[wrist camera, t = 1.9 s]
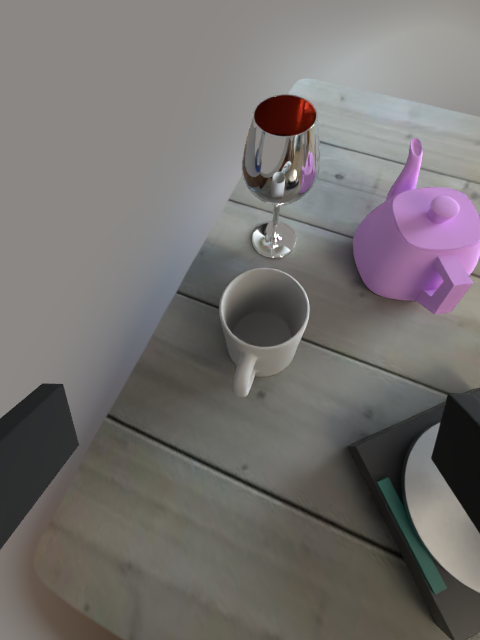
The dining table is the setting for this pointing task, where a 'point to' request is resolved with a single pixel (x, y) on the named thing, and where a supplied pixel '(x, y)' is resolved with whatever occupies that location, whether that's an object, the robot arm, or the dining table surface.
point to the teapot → (419, 242)
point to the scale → (385, 487)
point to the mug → (262, 323)
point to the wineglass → (280, 164)
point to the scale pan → (439, 513)
